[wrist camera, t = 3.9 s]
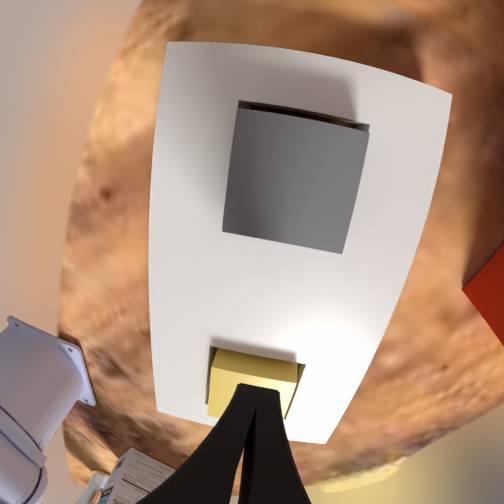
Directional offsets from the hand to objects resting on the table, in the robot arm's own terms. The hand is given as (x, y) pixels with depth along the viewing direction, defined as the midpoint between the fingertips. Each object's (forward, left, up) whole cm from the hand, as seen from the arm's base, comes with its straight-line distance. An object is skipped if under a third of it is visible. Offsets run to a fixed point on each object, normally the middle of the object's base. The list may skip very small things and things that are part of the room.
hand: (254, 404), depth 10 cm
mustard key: (0, -5, -7) cm, 9 cm away
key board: (0, +1, -9) cm, 9 cm away
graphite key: (0, +7, -6) cm, 9 cm away
